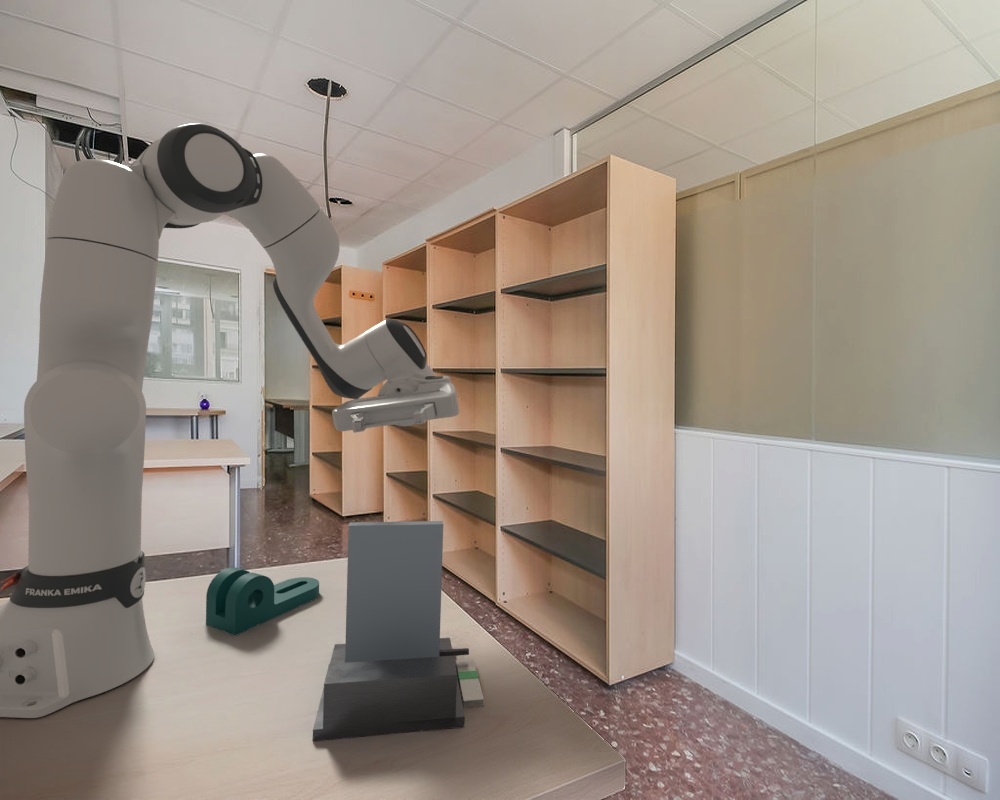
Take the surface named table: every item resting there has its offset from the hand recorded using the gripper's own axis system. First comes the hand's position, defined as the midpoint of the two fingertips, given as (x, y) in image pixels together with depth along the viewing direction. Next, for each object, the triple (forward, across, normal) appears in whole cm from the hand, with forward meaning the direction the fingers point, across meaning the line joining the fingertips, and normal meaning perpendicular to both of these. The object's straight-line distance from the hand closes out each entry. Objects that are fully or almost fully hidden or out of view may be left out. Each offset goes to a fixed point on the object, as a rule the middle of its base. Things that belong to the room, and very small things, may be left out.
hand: (387, 423), depth 77 cm
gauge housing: (+20, +1, +28) cm, 35 cm away
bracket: (0, -25, +29) cm, 39 cm away
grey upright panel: (+16, +1, +28) cm, 32 cm away
